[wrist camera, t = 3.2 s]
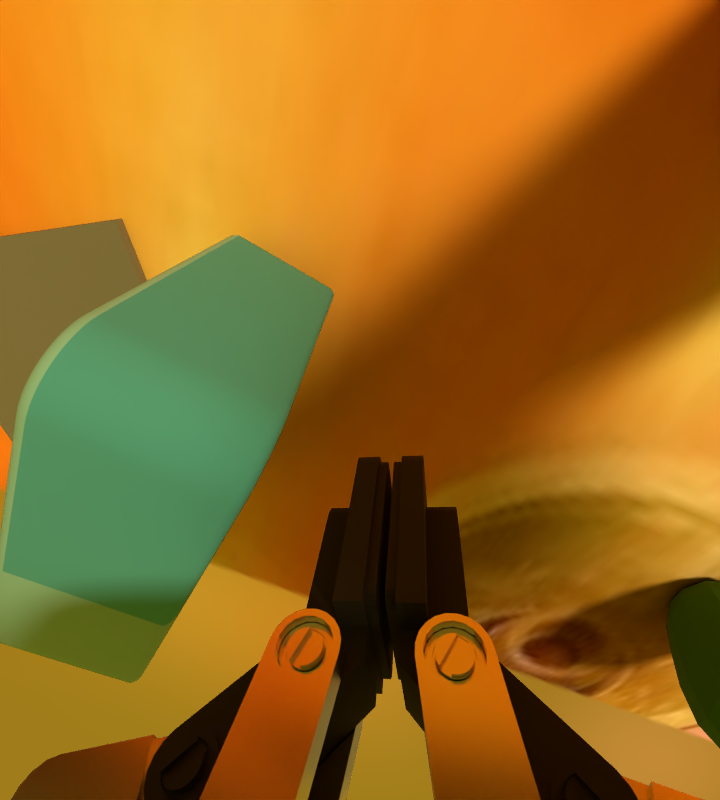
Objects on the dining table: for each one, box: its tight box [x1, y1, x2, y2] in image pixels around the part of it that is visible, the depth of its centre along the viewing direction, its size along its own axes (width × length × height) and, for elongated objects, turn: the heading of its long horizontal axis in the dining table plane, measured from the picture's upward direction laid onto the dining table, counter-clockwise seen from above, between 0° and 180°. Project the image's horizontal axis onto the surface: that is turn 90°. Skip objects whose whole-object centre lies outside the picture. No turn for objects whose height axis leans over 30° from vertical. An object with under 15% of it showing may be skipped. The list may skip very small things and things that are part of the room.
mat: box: [0, 219, 147, 442], centre depth 22 cm, size 12×14×1 cm
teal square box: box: [0, 235, 333, 683], centre depth 15 cm, size 12×4×12 cm, turn 150°
